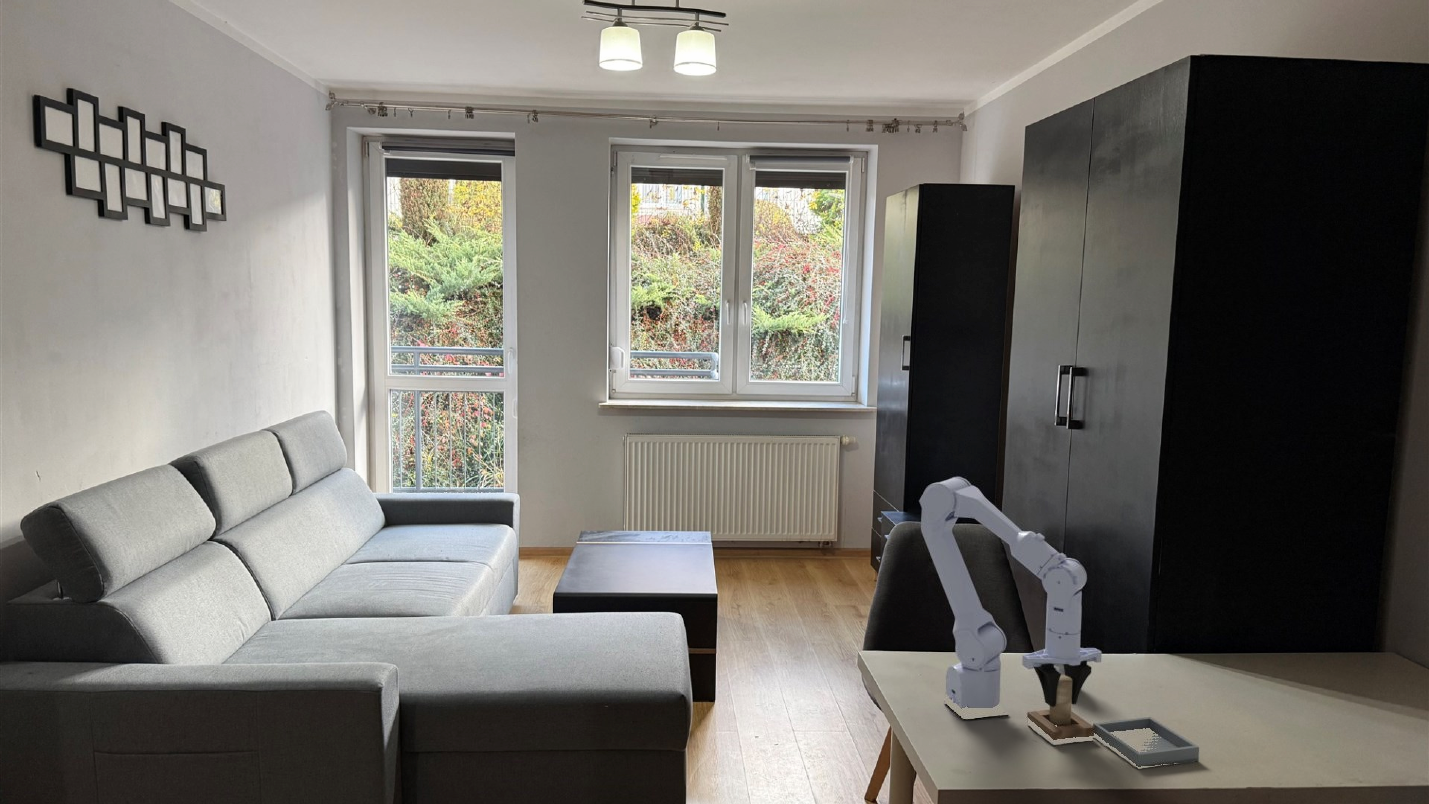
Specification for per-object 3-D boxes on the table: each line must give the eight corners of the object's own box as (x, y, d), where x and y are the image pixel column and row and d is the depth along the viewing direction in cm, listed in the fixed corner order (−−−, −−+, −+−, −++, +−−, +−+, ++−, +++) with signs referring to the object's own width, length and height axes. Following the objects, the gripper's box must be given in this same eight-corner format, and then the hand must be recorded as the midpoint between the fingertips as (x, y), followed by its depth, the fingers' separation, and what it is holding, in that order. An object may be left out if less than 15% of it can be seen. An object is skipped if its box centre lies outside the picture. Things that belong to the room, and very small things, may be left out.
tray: (1137, 769, 143) (1138, 754, 143) (1092, 737, 155) (1093, 723, 154) (1198, 761, 146) (1199, 747, 146) (1149, 730, 157) (1150, 716, 157)
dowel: (1056, 727, 154) (1058, 683, 153) (1044, 718, 157) (1046, 675, 157) (1075, 725, 155) (1076, 681, 154) (1062, 716, 158) (1064, 673, 158)
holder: (1053, 745, 151) (1053, 732, 151) (1027, 725, 159) (1027, 712, 159) (1093, 740, 153) (1094, 727, 153) (1066, 720, 161) (1066, 707, 161)
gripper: (1039, 640, 149) (1037, 717, 150) (1114, 633, 152) (1111, 708, 153) (1016, 626, 156) (1014, 699, 157) (1088, 620, 159) (1085, 692, 160)
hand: (1060, 703), depth 156 cm, fingers closed on dowel, 4 cm apart
